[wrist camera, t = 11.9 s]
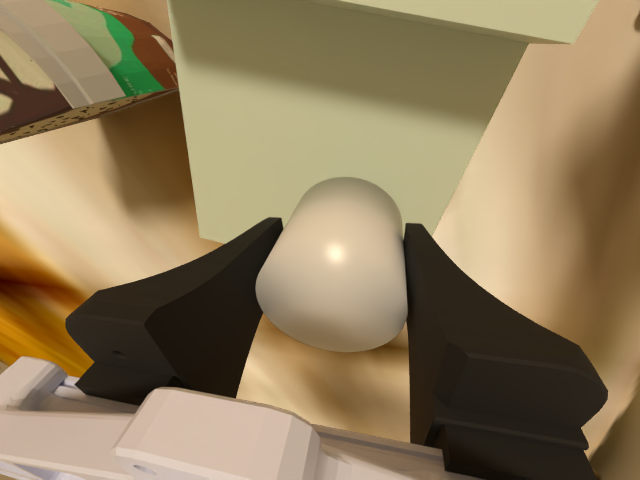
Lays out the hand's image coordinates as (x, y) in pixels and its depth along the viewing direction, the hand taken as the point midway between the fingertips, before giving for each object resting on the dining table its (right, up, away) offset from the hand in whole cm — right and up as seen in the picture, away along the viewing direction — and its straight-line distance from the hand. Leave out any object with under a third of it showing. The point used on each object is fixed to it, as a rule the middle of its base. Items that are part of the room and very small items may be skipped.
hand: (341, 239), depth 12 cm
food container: (-14, +13, +7) cm, 20 cm away
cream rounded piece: (0, +1, +1) cm, 2 cm away
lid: (-1, +4, +3) cm, 5 cm away
